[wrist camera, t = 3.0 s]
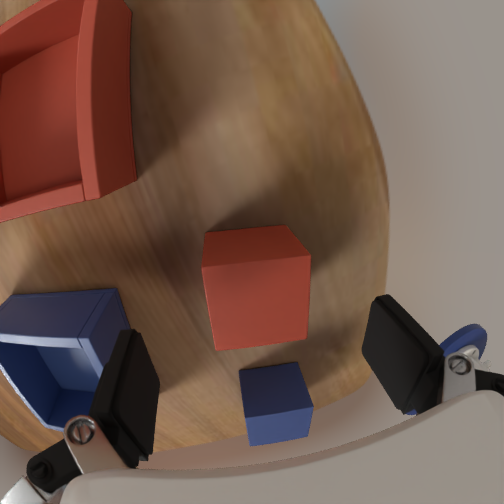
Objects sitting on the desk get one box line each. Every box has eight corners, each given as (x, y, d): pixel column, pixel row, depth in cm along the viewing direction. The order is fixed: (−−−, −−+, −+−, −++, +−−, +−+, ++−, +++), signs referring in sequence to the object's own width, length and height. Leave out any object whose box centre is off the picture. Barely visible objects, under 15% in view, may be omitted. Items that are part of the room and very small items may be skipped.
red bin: (132, 12, 10) (104, -29, 5) (137, 180, 15) (100, 198, 10) (1, 70, 9) (-44, 63, 4) (7, 211, 14) (-40, 236, 9)
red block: (285, 224, 17) (311, 254, 12) (286, 293, 19) (307, 338, 14) (205, 232, 16) (201, 266, 12) (214, 302, 18) (215, 351, 14)
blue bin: (117, 287, 17) (88, 338, 12) (158, 395, 21) (152, 444, 16) (11, 294, 16) (-23, 330, 11) (61, 388, 20) (45, 427, 15)
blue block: (297, 361, 22) (314, 406, 17) (295, 395, 23) (308, 436, 19) (238, 370, 21) (244, 418, 17) (243, 403, 23) (249, 446, 18)
